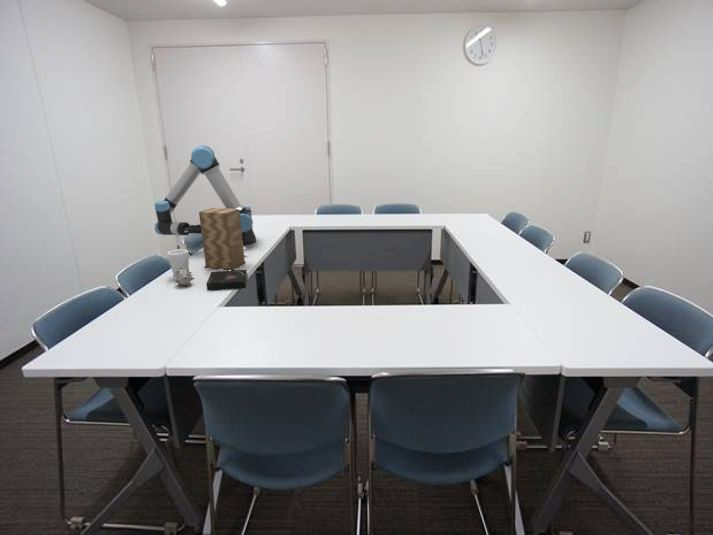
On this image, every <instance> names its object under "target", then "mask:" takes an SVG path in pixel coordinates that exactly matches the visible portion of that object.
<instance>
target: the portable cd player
mask: <svg viewBox="0 0 713 535" xmlns="http://www.w3.org/2000/svg"><path fill="white" fill-rule="evenodd" d="M247 271H248V270H247V269H236V270H231V271H229V270H219V271H217V270H215V271H211V272H210V274H209V276H208V279H207V281H206V290H212V291H223V289H224V291H225V289H226V290H239V289H240V290H241V289H246V287H247V283H248V272H247Z"/></svg>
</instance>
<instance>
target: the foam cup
mask: <svg viewBox="0 0 713 535" xmlns="http://www.w3.org/2000/svg"><path fill="white" fill-rule="evenodd" d="M189 257H190V252H189V250H188V249H187V248H186V249H185V248H179V249H173V250H170V251H167V259H168V260H169V264H170V268H171V271H172V274H173V275H174V276H175V275H176V274H177V273H178V272H179V271H180V270H181V268H182V269H183V270H188V269H189V270H190V268H189V265H190V264H189V262H190V261H189V260H190V259H189ZM177 271H178V272H177ZM174 276H173V277H174Z"/></svg>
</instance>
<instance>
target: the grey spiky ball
mask: <svg viewBox="0 0 713 535" xmlns="http://www.w3.org/2000/svg"><path fill="white" fill-rule="evenodd" d="M177 272H178V271H177ZM172 277H174V279H175V283H176V284H177V286H180V285H182V286H185V287H186V288H187V285H189V284H190V282H191V281H192V280H195V278H194V277H193V275H192V271H191V272H190V268H189V269H188V270H183V269H182V268H181V270H180V271H179V272H178V273H177V274H176V275H175V276H174V274H173V275H172Z"/></svg>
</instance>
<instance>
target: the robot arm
mask: <svg viewBox="0 0 713 535" xmlns="http://www.w3.org/2000/svg"><path fill="white" fill-rule="evenodd" d="M190 158H191V159H190V160H189V165H188V166H187V167H186V169H185V170H184V171H183V173H182V174H181V176H180V177H179V178H178V180H177V181H176V183H175V184H174V185H173V187H172V188H171V190H170V191H169V192H168V193H167V195H166V196H165V198H164V199H163V200H160V201H156V202H154V209H155V213H156V218H157V222H156V223H155V224H154V231H155V233H156V234H158V235H162V236H176V237H179V236H189V235H190V234H201V235H202V232H201V224H197V223H196V225H195V224H189V222H185V221H183V222H181V221H173V218H172V213H173V212H174V210H175V209H176V207H177V206H178V204H179V203H180V202H181V200H182V199H183V198H184V196H185V195H186V194H187V193H188V192H189V191H188V190H190V189H191V187H192V186H193V184H194V183H195V182H196V180H197V179H198V177H199V176H200V175H204V176H205V177H206V179H207V180H208V182H209V183H210V185H211V186H212V189H213V190H214V191H215V193H216V195H217V196H218V198H219V199H220V200H219V201H221V203H222V204H223V206H224V207H225V208H227V209H240V218H241V229H242V240H243V246H244V245H252V244H255V243H256V242H257V236H256V234H255V232H254V230H253V228H254V227H253V224H254V221H253V218H252V208H251V207H250V206H245V205H243V204H241V203H240V201H239V199H238V198H237V196H236V194H235V192H233V189H232V188H231V186H230V185H229V183H228V181H227V179H226V178H225V177H224V175H223V173H222V172H221V170H220V163H219V161H218V159H217V158H216V156H215V152H214V150H213V149H212V148H210V147H209V146H207V145H199V146H197V147H195V148H194V149H193V150H192V151H191V155H190Z"/></svg>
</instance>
